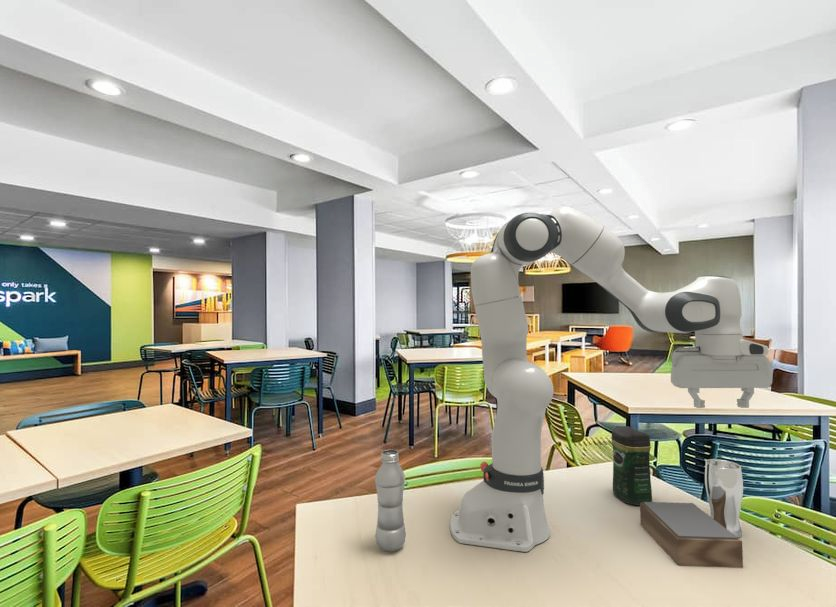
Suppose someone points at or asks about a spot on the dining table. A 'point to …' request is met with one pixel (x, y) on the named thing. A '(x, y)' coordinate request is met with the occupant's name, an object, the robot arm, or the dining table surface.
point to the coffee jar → (631, 465)
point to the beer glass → (724, 493)
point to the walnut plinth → (691, 535)
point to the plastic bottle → (390, 502)
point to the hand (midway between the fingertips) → (721, 407)
